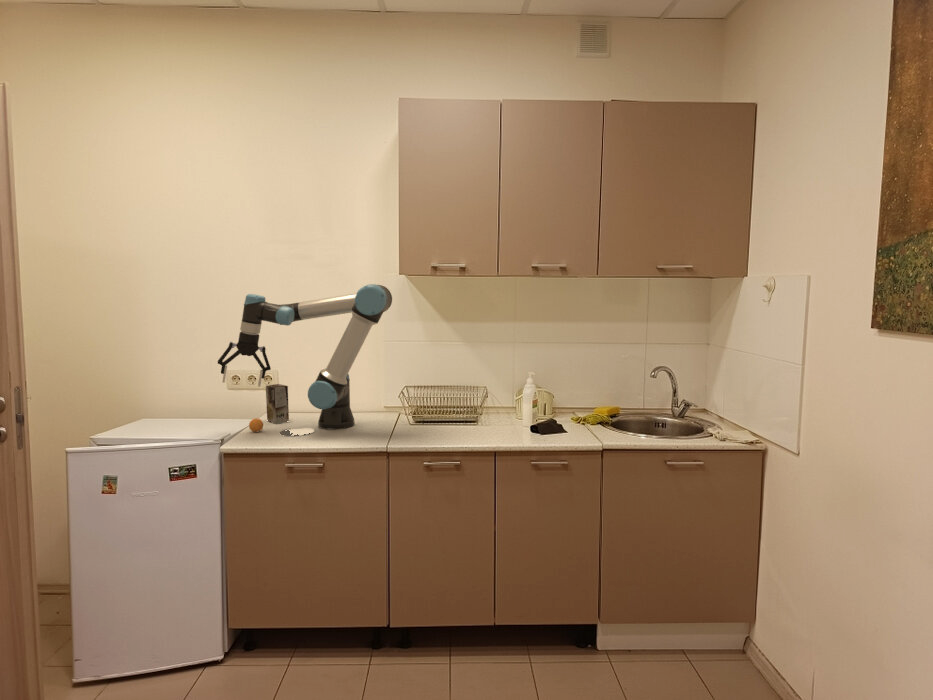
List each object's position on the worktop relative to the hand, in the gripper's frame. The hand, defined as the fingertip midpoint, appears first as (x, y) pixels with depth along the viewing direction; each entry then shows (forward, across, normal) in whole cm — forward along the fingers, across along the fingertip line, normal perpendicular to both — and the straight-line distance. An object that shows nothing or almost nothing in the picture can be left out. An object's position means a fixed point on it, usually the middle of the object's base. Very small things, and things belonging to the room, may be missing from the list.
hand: (241, 383), depth 236 cm
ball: (+16, -8, +3) cm, 18 cm away
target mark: (+15, -24, +10) cm, 30 cm away
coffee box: (+18, -18, -13) cm, 29 cm away
